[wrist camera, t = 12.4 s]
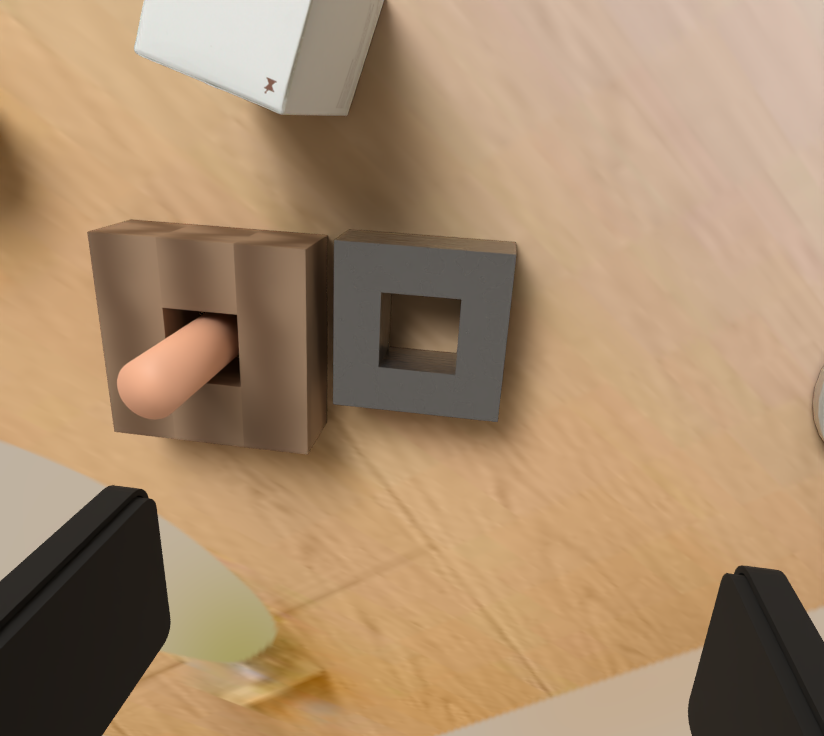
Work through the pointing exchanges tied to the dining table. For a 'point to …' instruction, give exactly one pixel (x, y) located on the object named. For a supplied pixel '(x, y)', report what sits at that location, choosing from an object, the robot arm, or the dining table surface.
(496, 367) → the pin mount
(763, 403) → the dining table surface
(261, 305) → the socket block
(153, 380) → the pin
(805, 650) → the robot arm
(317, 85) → the supplement box
